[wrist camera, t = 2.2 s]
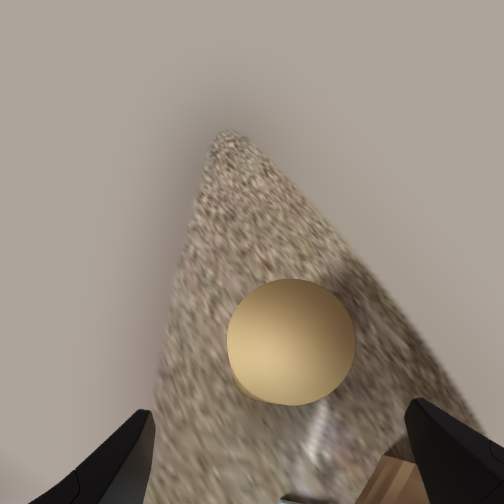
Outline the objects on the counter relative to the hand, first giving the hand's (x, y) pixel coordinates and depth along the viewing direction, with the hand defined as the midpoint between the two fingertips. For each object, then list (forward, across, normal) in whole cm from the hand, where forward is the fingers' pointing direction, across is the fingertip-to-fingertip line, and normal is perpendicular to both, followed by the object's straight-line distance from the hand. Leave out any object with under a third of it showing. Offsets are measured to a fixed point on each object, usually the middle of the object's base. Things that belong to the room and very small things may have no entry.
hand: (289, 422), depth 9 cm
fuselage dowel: (+9, 0, +5) cm, 10 cm away
